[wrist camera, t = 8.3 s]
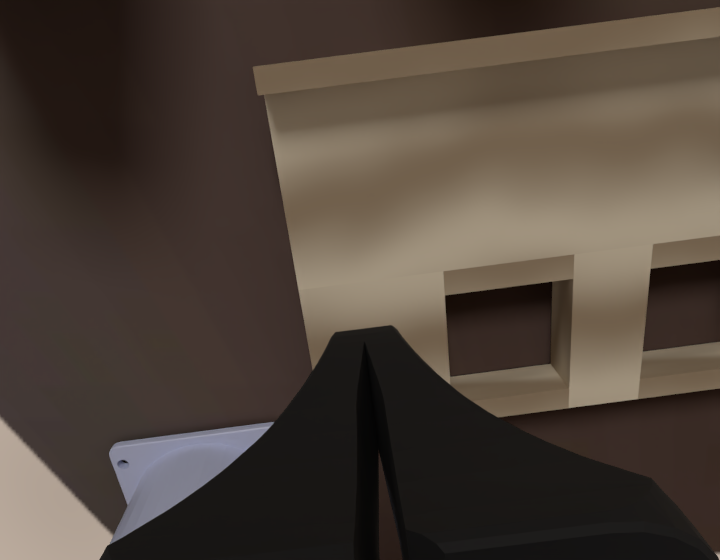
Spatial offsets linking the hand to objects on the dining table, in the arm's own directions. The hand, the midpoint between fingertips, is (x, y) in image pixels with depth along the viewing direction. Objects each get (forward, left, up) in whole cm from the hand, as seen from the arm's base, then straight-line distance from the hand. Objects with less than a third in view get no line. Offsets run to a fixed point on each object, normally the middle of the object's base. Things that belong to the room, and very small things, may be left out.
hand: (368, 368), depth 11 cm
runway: (-1, -10, -10) cm, 14 cm away
